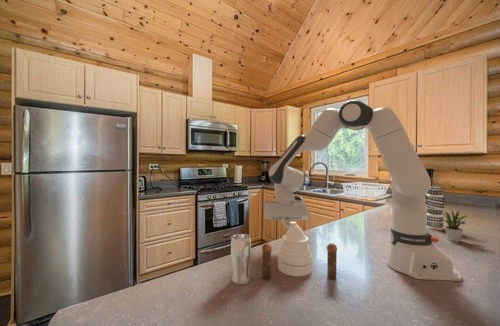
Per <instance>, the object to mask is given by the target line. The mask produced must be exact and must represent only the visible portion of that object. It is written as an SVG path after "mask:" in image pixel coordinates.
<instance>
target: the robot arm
mask: <svg viewBox="0 0 500 326" xmlns="http://www.w3.org/2000/svg"><path fill="white" fill-rule="evenodd" d="M342 128H343V129H348V130H352V131H360V130H363V129H367V130H368V131H369V133H370V134H371V137H372V138H373V141H374V144H375V145H376V148H377V150H378V152H379V154H380V156H381V159H382V161H383V163H384V165H385V168H386V170H387V172H388V174H389V176H390V179H391V203H392V204H391V206H392V213H391V215H392V217H391V218H392V223H391V225H392V227H391V228H390V238H389V239H390V243H391V244H390V251H389V256H388V259H387V261H386V264H387V266H389V268H391V269H392V270H394V271H397V272H399V273H402V274H406V275H408V276H409V277H412V278H413V279H416V280H430V281H431V280H434V281H451V282H452V281H455V282H456V281H457V282H462V280H463V278H462V275H461V272H459V271H458V270H457V269H455V268H454V264H453V261H452V259H451V257H450V256H449V255H448V254H446V252H444V251H443V250H441V249H440V248H439V247H438V246H436V245H435V244H438V243H439V241H440V240H439V238H438V237H436V236H435V235H432V234H430V233H429V232H428V227H427V208H426V205H427V204H426V202H427V201H426V194H427V192H428V190H429V189H430V187H431V185H432V180H431V177H430V176H429V173H428V172H427V170H426V168H425V166H424V164H423V162H422V160H421V159H420V157H419V155H418V154H417V152H416V151H415V149H414V147H413V144H412V142H411V140H410V138H409V137H408V134H407V132H406V130H405V128H404V126H403V124H402V122H401V120H400V118H399V117H398V116H397V114H396V113H395V112H394V110H393V109H392V108H390V107H387V106H386V107H384V106H383V107H379V108H376V109H373V108H372V107H371V106H369V105H368V104H366V103H365V102H362V101H360V100H357V99H352V100H348V101H345V102H344V103H343V104H342V105H341V106H340V108H339V110H337V109H336V108H332V107H329V108H328V107H327V108H326V109H324V110H323V111H322V112H321V113H320V115H319V116H318V117H317V118H316V119H315V121H314V122H313V123H312V125H311V127H310V128H309V129H308V131H306V132H305V133H303V134H300V135H298V136H297V137H296V138H295V139H294V140H293V141H292V142H291V144H290V145H288V147H287V148H286V149H285V151H284V152H283V153H282V154H281V155H280V156H279V158H278V159H277V160H276V161H275V162H274V163H273V164H272V165H271V166H270V168H269V169H268V174H267V175H268V178H269V180H270V182H271V183H272V184H273V185H274V186H273V187H274V192H275V196H274V198H275V199H274V200H273V201H269V200H267V201H265V202H264V203H263V208H264V218H265V219H266V220H267V221H268V220H269V221H272V220H274V221H281V223H282V224H283V227H284V228H285V229H289V228H290V227H291V226H290V222H294V221H298V220H299V221H306V220H308V218H309V216H310V215H309V210H308V206H307V205H306V203H305V202H304V198H303V197H301V196H298V195H294V194H293V193H295V192H298V191H299V190H301V189H302V188H304V186H305V184H306V175H305V173H304V172H303V171H301V170H299V169H297V168H293V167H291V166H289V165H290V163H291V162H292V161H293V160H294V158H296V157H297V155H298V154H300V153H302V152H306V151H308V152H309V151H312V152H317V151H318V152H319V151H323V150H325V149H326V148H328V147H329V146H330V144H331V143H332V141H333V140H334V139H335V137H336V135H337V134H338V132H339V131H340V130H341V129H342ZM287 221H289V222H287Z"/></svg>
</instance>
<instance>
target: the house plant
mask: <svg viewBox="0 0 500 326" xmlns="http://www.w3.org/2000/svg"><path fill="white" fill-rule="evenodd" d="M443 212H444V213H445V214H444V213H442V214H443V217H445V218H446V219H440V220H443V221H442V222H445V223H446V224H447V226H444V229H445V233H446V234H445V236H446V240H448V241H449V242H454V243H455V242H456V243H459V242H461V240H462V236H463V232H464V231H463V230H464V229H463V228H461V227H460V226H461V225H462V224H463V225H467V226H469V224H470V223H467V222H466V220H463V219H464V218H465V219H466V218H468V216H470V213H468V214H467V213H466V214H464V215H462V216H461V217H460V213H461V211H460V210H459V208H458V209H457V210H456V213H454V210H453V209H452V208H451V211H450V212H449V213H448V212H447V211H446V210H445V209H444V210H443ZM450 213H451V215H452V216H451V215H450ZM451 217H452V218H451ZM462 220H463V221H462Z"/></svg>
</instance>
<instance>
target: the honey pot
mask: <svg viewBox="0 0 500 326" xmlns="http://www.w3.org/2000/svg"><path fill="white" fill-rule="evenodd" d="M289 223H290V226H291V227H290V228H287V231H286V233H285V234H284V235H282V238H281V240H282V242H281V244H280V248H279V251H278V253H277V254H278V256H277V269H278V270H279V272H281V273H283V274H284V275H288V276H292V277H305V276H308V275H311V273H312V272H313V254H312V253H311V249H310V245H309V244H308V242H309V240H310V239H309V237H308V236H307V235H305V233H304V231H303V230H302V228H301V227H300V226H299V225H298V223H297V221H292V222H290V221H289Z"/></svg>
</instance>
